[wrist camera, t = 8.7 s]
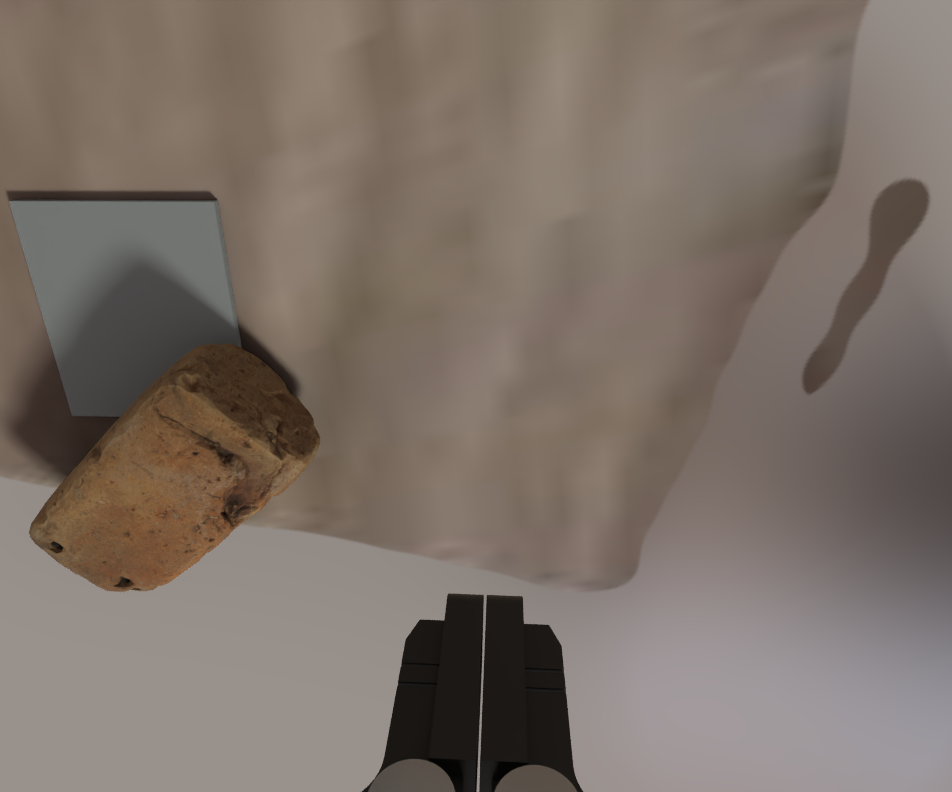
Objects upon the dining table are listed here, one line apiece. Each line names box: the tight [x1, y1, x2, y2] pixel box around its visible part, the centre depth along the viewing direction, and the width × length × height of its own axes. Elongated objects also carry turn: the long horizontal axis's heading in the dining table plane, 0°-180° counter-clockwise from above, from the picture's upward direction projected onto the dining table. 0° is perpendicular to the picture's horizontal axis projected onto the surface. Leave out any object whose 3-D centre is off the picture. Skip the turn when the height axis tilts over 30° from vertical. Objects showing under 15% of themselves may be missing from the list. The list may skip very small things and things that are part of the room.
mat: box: [9, 200, 242, 417], centre depth 44 cm, size 15×13×1 cm
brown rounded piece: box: [29, 343, 320, 592], centre depth 46 cm, size 11×8×20 cm
